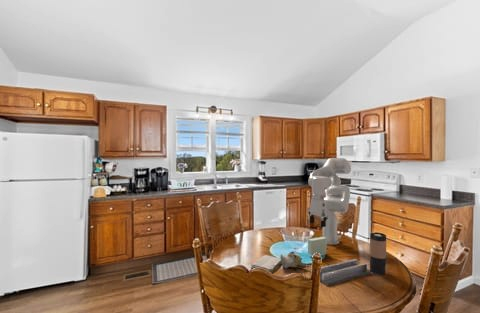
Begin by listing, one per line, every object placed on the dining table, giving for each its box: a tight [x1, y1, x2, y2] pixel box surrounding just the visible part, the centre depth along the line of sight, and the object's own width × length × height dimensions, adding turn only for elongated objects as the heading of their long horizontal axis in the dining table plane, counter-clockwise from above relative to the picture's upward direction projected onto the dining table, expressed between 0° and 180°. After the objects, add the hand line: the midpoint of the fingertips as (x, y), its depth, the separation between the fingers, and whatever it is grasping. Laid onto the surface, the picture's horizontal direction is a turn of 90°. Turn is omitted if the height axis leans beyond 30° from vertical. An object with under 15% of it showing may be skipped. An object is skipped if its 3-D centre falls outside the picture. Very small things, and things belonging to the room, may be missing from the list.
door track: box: [309, 258, 372, 287], centre depth 126 cm, size 30×12×4 cm, turn 115°
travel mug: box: [369, 232, 387, 276], centre depth 129 cm, size 8×8×20 cm
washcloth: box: [250, 254, 282, 274], centre depth 135 cm, size 12×18×3 cm, turn 149°
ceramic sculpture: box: [279, 251, 310, 269], centre depth 134 cm, size 11×9×15 cm
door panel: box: [307, 236, 328, 255], centre depth 150 cm, size 12×3×10 cm, turn 115°
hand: (317, 224), depth 150 cm, fingers open, 9 cm apart
